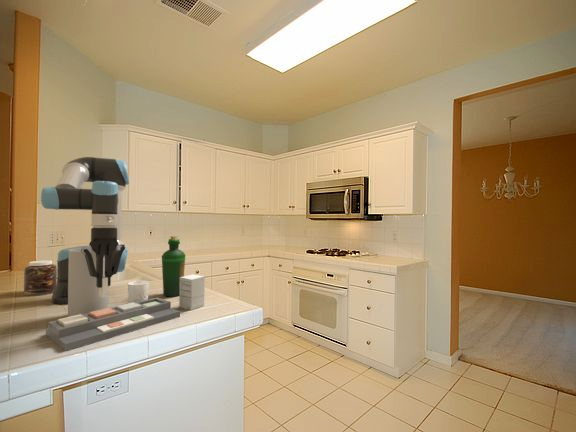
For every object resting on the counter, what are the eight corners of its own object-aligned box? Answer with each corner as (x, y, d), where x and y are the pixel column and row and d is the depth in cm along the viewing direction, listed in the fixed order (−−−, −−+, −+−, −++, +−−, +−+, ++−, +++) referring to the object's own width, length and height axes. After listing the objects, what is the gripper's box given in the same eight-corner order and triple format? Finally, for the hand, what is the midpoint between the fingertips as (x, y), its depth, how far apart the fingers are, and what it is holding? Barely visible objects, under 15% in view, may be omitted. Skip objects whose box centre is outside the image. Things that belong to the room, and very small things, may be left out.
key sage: (140, 308, 111) (140, 304, 111) (155, 305, 116) (155, 301, 116) (148, 312, 107) (148, 307, 107) (163, 308, 112) (163, 304, 112)
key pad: (45, 334, 91) (46, 320, 91) (154, 307, 120) (154, 296, 120) (65, 351, 80) (65, 335, 80) (179, 316, 109) (179, 305, 109)
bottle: (189, 294, 140) (190, 236, 140) (170, 299, 131) (171, 237, 131) (175, 290, 146) (176, 235, 146) (156, 295, 137) (157, 236, 137)
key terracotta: (89, 316, 97) (89, 312, 97) (108, 312, 102) (108, 307, 102) (96, 321, 93) (96, 316, 93) (116, 316, 98) (116, 311, 98)
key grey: (116, 310, 104) (116, 306, 104) (133, 306, 109) (133, 302, 109) (124, 314, 100) (124, 309, 100) (141, 309, 105) (141, 305, 105)
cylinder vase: (101, 308, 117) (102, 246, 117) (113, 315, 109) (114, 249, 109) (63, 316, 107) (64, 249, 107) (73, 324, 99) (74, 252, 99)
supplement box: (192, 302, 126) (193, 274, 126) (204, 305, 123) (205, 276, 123) (178, 307, 120) (179, 277, 120) (191, 310, 116) (191, 279, 116)
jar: (51, 288, 146) (52, 258, 146) (59, 292, 139) (60, 261, 139) (20, 293, 137) (21, 261, 137) (27, 297, 130) (28, 264, 130)
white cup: (139, 310, 115) (140, 285, 115) (122, 308, 117) (123, 284, 117) (152, 304, 123) (153, 281, 123) (136, 303, 125) (137, 279, 125)
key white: (58, 324, 90) (58, 319, 90) (80, 319, 95) (80, 314, 95) (64, 329, 87) (64, 323, 87) (87, 323, 91) (87, 318, 91)
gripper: (86, 227, 90) (85, 303, 90) (129, 226, 101) (128, 294, 100) (77, 227, 95) (76, 298, 94) (119, 226, 105) (118, 291, 105)
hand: (103, 296), depth 97 cm, fingers closed
